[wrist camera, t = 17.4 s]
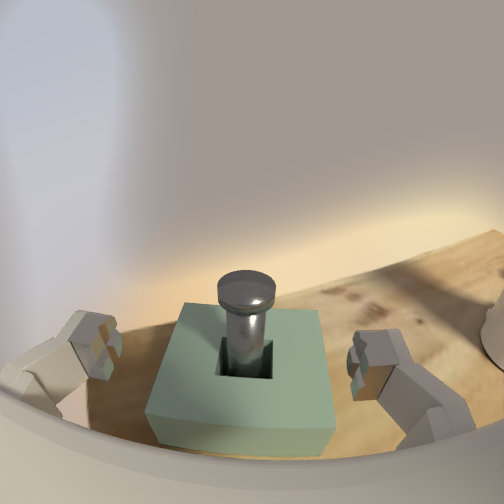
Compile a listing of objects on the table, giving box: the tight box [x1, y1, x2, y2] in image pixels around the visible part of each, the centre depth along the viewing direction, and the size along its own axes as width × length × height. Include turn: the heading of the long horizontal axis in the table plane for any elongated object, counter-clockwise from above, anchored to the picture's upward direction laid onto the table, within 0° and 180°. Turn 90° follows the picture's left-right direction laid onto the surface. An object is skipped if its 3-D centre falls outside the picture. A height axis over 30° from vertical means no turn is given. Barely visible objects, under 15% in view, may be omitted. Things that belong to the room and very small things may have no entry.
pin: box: [217, 270, 276, 379], centre depth 26 cm, size 4×4×14 cm
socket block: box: [144, 303, 336, 457], centre depth 28 cm, size 15×15×6 cm
